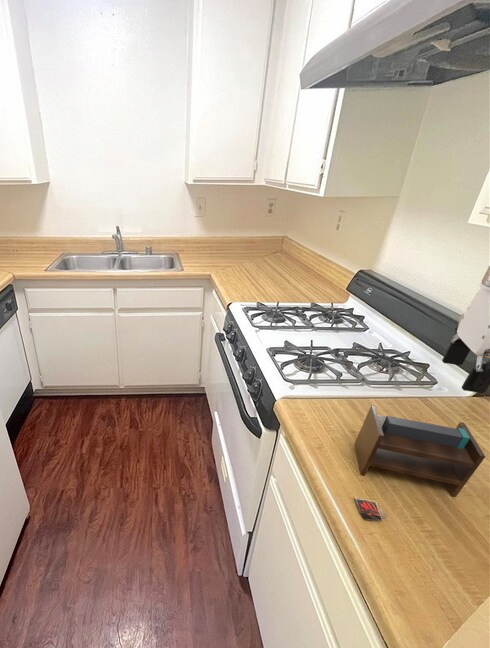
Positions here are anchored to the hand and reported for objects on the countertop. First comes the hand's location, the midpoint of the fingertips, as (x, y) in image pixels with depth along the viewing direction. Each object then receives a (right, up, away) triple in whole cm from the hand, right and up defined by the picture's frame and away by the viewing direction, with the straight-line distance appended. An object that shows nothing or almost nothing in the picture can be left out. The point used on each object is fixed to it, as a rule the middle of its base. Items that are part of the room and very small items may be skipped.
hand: (461, 376), depth 62 cm
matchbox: (-15, -25, +2) cm, 29 cm away
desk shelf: (-3, -19, +11) cm, 23 cm away
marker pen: (-3, -12, +6) cm, 14 cm away
